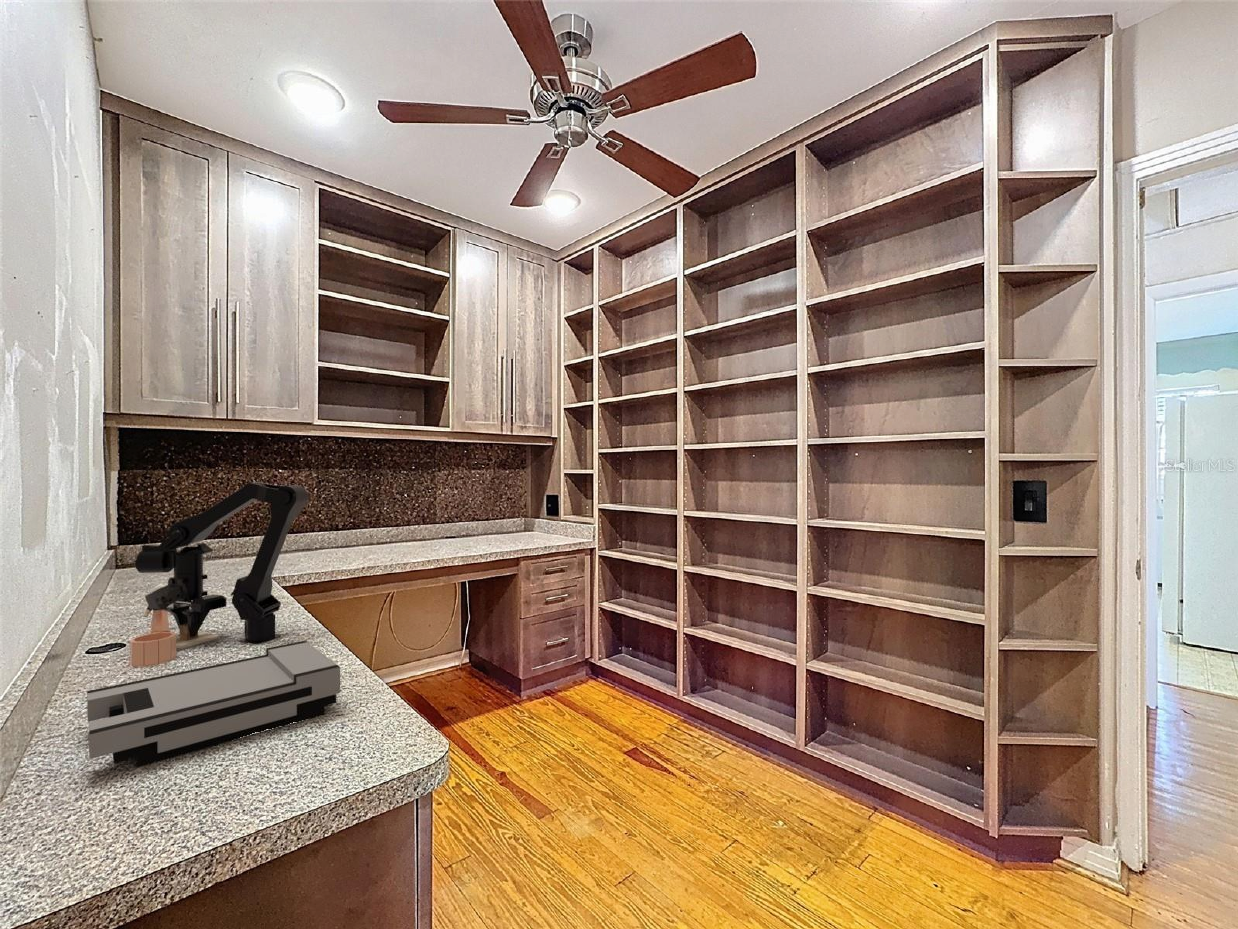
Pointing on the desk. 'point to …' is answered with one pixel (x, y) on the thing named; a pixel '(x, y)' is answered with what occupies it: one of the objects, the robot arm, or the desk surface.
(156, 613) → the grandmother figurine
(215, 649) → the desk surface
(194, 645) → the mat
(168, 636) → the bowl
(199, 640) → the lid
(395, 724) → the desk surface
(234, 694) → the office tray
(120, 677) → the desk surface
